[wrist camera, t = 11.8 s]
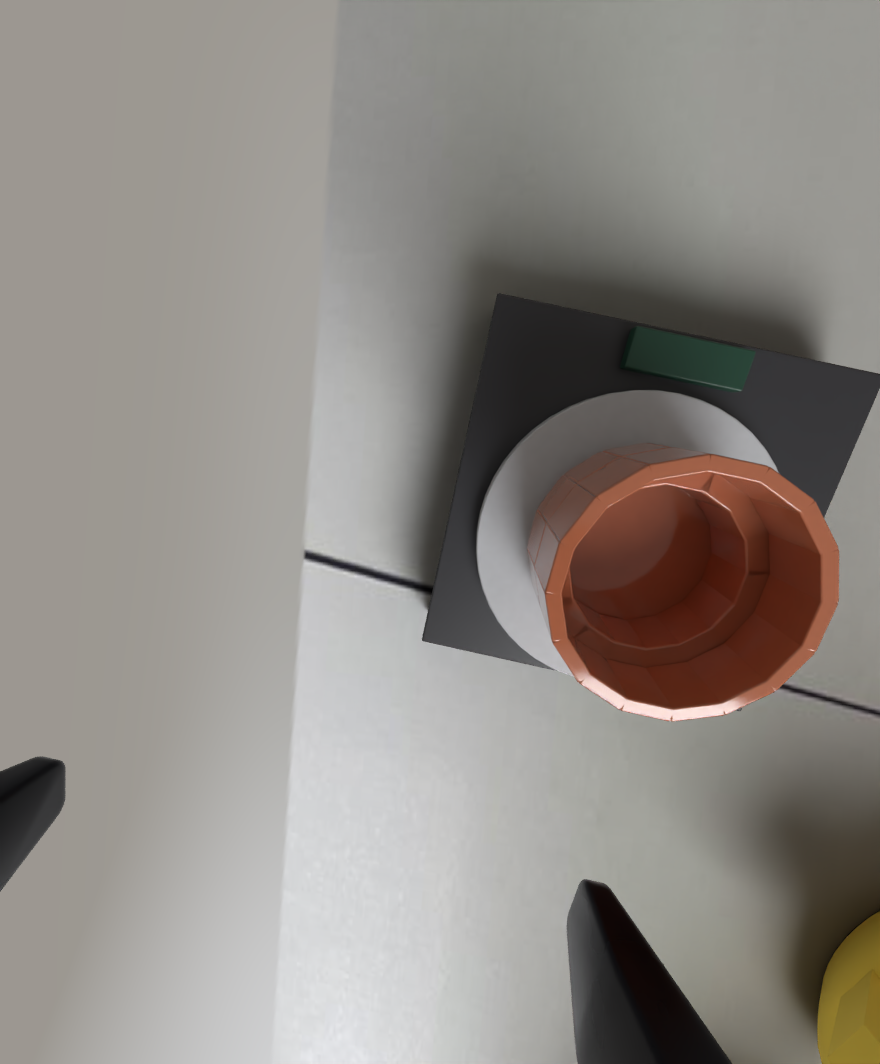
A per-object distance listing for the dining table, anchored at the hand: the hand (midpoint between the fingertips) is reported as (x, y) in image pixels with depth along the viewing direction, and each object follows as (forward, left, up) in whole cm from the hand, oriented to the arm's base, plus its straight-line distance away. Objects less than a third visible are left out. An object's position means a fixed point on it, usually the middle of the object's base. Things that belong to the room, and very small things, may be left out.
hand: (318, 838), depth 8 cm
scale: (+7, +5, -12) cm, 15 cm away
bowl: (+7, +4, -9) cm, 12 cm away
